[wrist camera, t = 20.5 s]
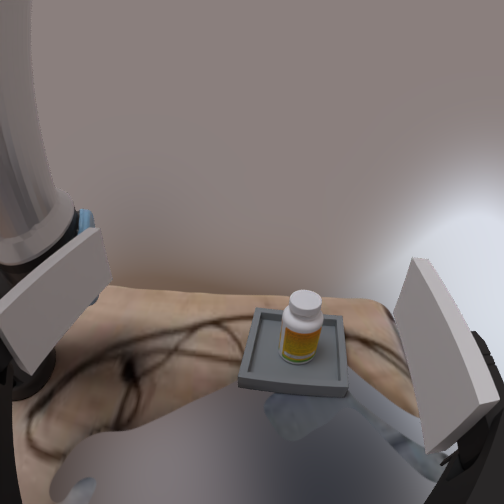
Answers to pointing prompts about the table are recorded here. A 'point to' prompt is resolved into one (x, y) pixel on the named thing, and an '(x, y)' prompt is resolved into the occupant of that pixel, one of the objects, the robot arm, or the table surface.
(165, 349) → the table surface
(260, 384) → the grey tray
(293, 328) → the supplement bottle
